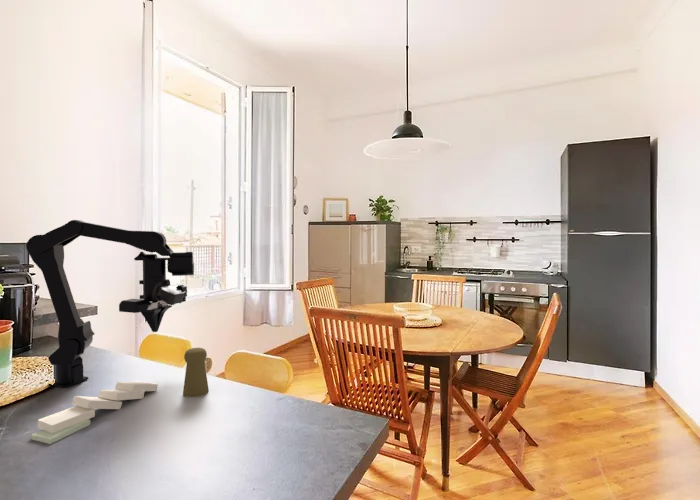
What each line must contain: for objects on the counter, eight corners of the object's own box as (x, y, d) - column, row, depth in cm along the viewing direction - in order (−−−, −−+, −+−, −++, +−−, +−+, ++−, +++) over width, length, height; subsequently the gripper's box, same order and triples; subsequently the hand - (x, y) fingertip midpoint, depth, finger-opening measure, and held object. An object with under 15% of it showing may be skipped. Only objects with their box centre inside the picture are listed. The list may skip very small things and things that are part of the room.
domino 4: (156, 390, 98) (132, 391, 90) (140, 388, 99) (115, 389, 92) (158, 384, 98) (133, 384, 91) (142, 381, 100) (116, 382, 92)
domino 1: (94, 416, 82) (52, 433, 75) (80, 411, 84) (37, 427, 77) (94, 409, 82) (52, 425, 75) (80, 404, 84) (37, 419, 77)
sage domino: (90, 427, 81) (50, 447, 73) (72, 423, 82) (31, 442, 75) (90, 419, 81) (50, 439, 73) (72, 416, 82) (31, 434, 74)
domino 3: (142, 398, 93) (116, 400, 86) (126, 395, 95) (98, 397, 87) (144, 391, 94) (117, 392, 86) (128, 388, 95) (100, 390, 88)
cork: (199, 398, 94) (199, 353, 93) (177, 396, 95) (177, 351, 94) (213, 388, 100) (213, 346, 99) (192, 386, 101) (191, 344, 100)
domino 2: (119, 409, 87) (86, 408, 81) (104, 405, 89) (71, 403, 83) (122, 401, 88) (90, 400, 81) (107, 397, 90) (74, 395, 83)
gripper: (151, 281, 97) (152, 343, 98) (200, 274, 115) (201, 326, 115) (116, 279, 100) (117, 339, 101) (169, 272, 118) (170, 323, 119)
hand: (155, 331), depth 109 cm, fingers closed
